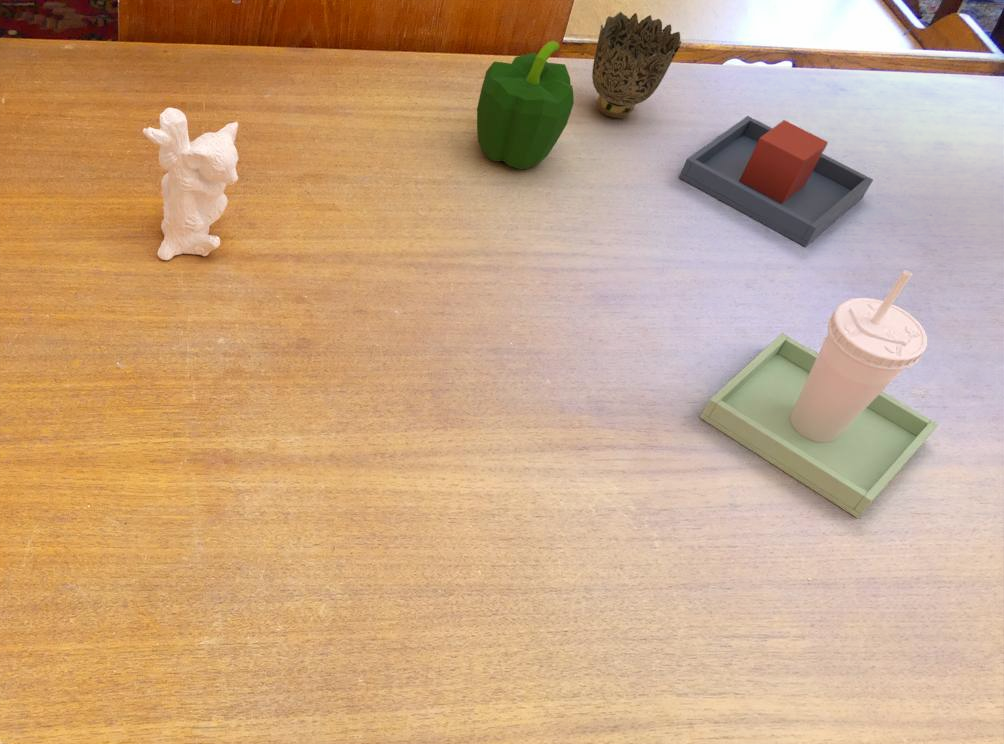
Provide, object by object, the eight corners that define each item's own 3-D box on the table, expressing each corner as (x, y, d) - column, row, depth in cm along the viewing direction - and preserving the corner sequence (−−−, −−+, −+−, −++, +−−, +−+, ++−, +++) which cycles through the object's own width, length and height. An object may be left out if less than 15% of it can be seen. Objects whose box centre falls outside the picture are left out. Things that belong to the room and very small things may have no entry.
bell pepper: (503, 189, 100) (533, 86, 92) (450, 141, 104) (475, 37, 96) (574, 167, 103) (610, 64, 95) (520, 120, 107) (549, 18, 99)
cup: (595, 81, 112) (622, 2, 106) (662, 109, 110) (694, 30, 104) (563, 112, 109) (588, 32, 102) (632, 141, 106) (662, 62, 100)
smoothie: (798, 382, 87) (893, 233, 76) (872, 427, 84) (982, 281, 73) (756, 421, 84) (848, 272, 73) (832, 469, 81) (940, 323, 70)
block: (805, 185, 103) (828, 141, 100) (781, 204, 101) (804, 160, 97) (762, 163, 105) (784, 119, 101) (738, 181, 103) (759, 137, 99)
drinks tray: (924, 442, 85) (939, 424, 83) (857, 518, 79) (872, 500, 78) (771, 351, 90) (782, 332, 88) (699, 417, 84) (709, 399, 83)
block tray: (862, 198, 103) (873, 179, 102) (805, 247, 98) (816, 228, 97) (739, 134, 108) (747, 115, 107) (678, 177, 103) (686, 158, 102)
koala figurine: (159, 278, 90) (159, 145, 80) (125, 229, 93) (121, 96, 83) (251, 252, 92) (263, 121, 83) (215, 206, 96) (222, 75, 86)
